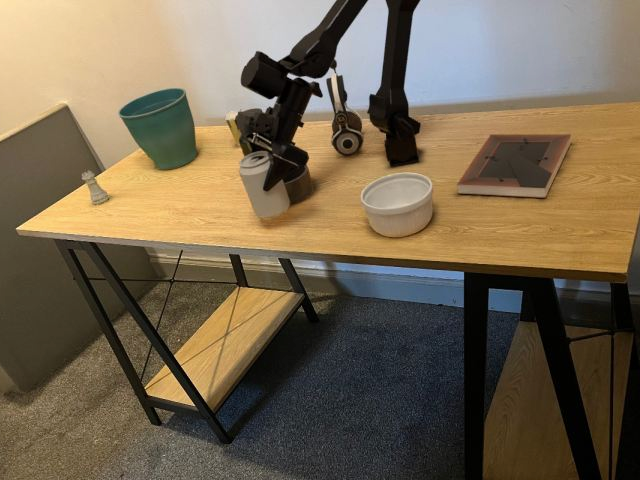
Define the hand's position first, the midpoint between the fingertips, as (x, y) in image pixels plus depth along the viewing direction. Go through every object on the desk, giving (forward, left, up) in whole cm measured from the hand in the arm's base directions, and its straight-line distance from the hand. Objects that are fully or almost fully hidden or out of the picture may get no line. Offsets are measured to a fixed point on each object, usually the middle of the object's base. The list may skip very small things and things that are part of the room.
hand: (257, 185), depth 113 cm
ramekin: (-27, +7, -9) cm, 30 cm away
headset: (-15, -32, -9) cm, 36 cm away
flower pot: (+35, -45, -9) cm, 58 cm away
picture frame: (-50, -6, -9) cm, 51 cm away
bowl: (-2, -13, -9) cm, 16 cm away
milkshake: (+16, -48, -9) cm, 51 cm away
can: (-1, -1, -7) cm, 7 cm away
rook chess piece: (+51, -28, -9) cm, 59 cm away
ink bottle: (+8, -35, -9) cm, 37 cm away
